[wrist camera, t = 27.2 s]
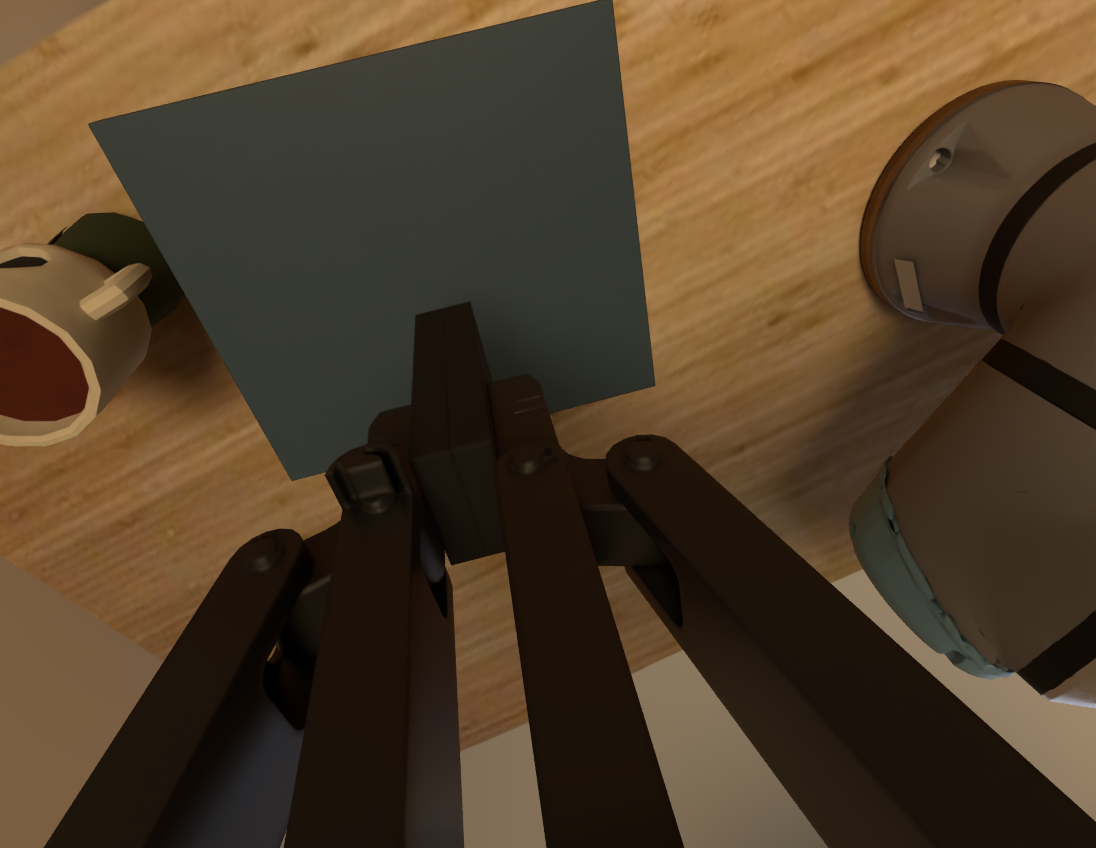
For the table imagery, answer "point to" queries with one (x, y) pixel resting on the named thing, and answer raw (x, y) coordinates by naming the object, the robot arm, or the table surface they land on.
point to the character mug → (76, 324)
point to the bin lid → (403, 222)
